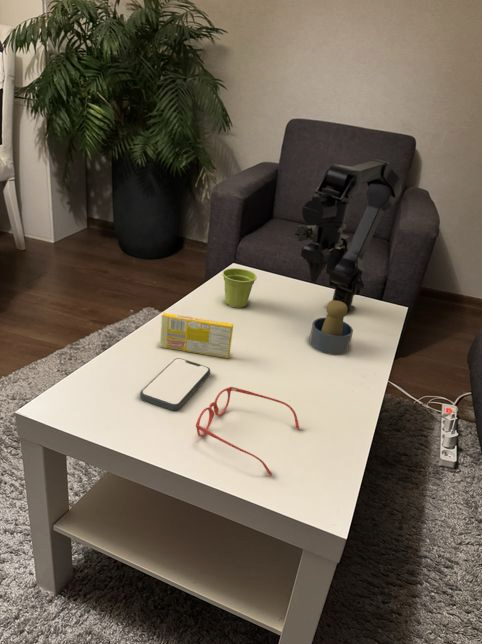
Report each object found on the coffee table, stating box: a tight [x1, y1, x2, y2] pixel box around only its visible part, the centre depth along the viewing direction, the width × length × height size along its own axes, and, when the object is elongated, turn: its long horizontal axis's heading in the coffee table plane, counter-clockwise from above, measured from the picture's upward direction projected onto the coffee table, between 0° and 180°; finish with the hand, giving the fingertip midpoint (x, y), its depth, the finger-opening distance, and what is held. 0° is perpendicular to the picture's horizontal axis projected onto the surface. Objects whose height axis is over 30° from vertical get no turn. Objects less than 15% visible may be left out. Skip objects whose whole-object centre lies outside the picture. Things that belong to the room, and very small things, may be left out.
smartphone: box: [139, 357, 211, 411], centre depth 111 cm, size 9×2×16 cm
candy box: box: [159, 312, 234, 359], centre depth 122 cm, size 16×2×8 cm, turn 84°
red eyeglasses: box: [195, 386, 300, 476], centre depth 99 cm, size 17×16×5 cm
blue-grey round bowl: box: [308, 317, 354, 355], centre depth 135 cm, size 10×10×5 cm
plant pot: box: [221, 267, 258, 309], centre depth 148 cm, size 9×9×9 cm
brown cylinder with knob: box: [321, 300, 348, 336], centre depth 134 cm, size 6×6×11 cm
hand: (320, 278), depth 140 cm, fingers open, 9 cm apart
